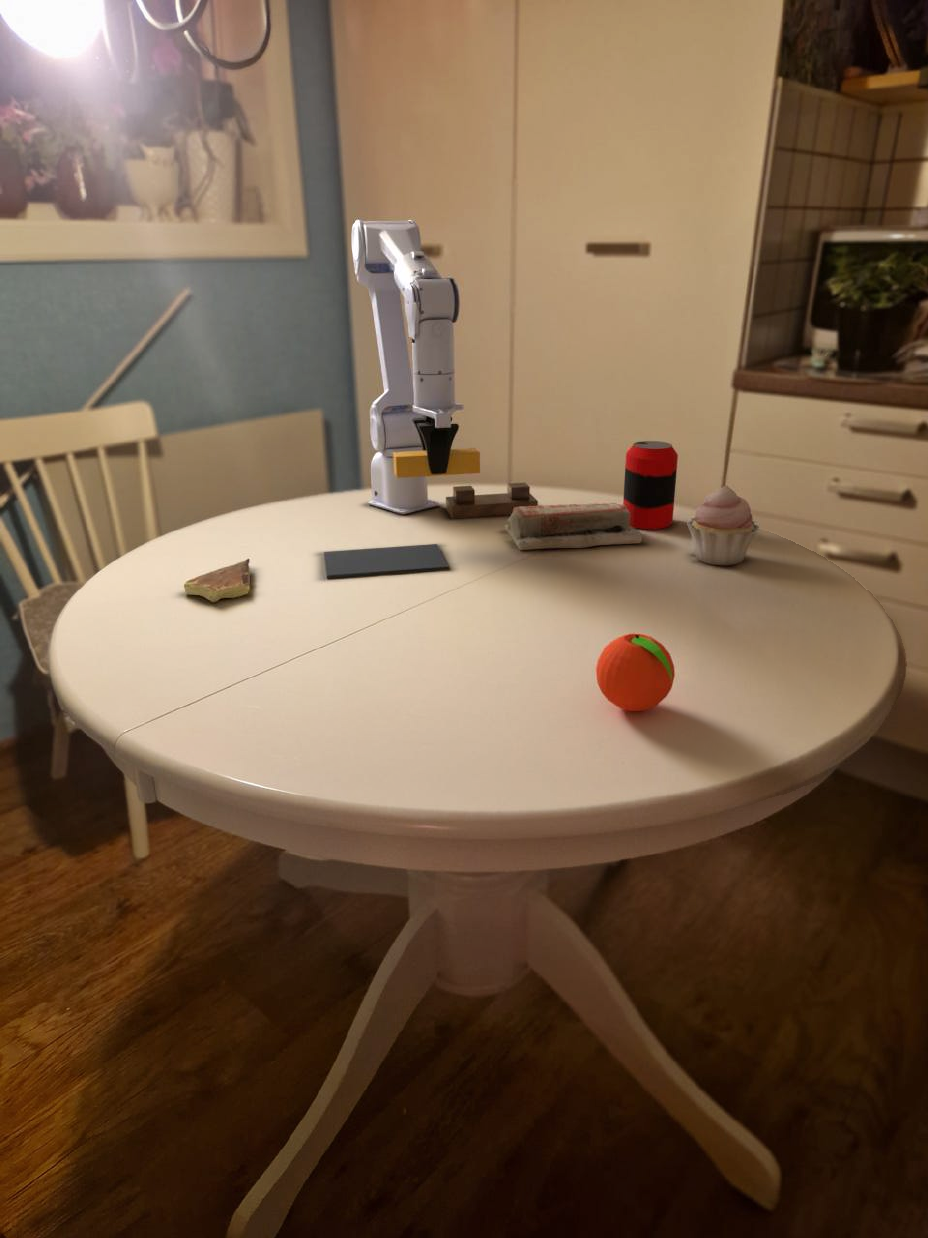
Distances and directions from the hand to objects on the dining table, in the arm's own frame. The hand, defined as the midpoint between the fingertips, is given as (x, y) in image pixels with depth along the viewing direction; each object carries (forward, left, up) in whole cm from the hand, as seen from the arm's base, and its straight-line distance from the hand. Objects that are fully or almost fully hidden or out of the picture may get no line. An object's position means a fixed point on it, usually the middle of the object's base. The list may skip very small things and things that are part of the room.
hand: (436, 470), depth 124 cm
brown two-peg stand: (-5, +15, -10) cm, 19 cm away
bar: (0, 0, 0) cm, 0 cm away
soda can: (+17, +27, -10) cm, 34 cm away
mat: (+3, -13, -10) cm, 16 cm away
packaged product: (+14, +13, -10) cm, 22 cm away
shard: (-4, -34, -10) cm, 35 cm away
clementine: (+52, -22, -10) cm, 58 cm away
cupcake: (+34, +20, -10) cm, 41 cm away
